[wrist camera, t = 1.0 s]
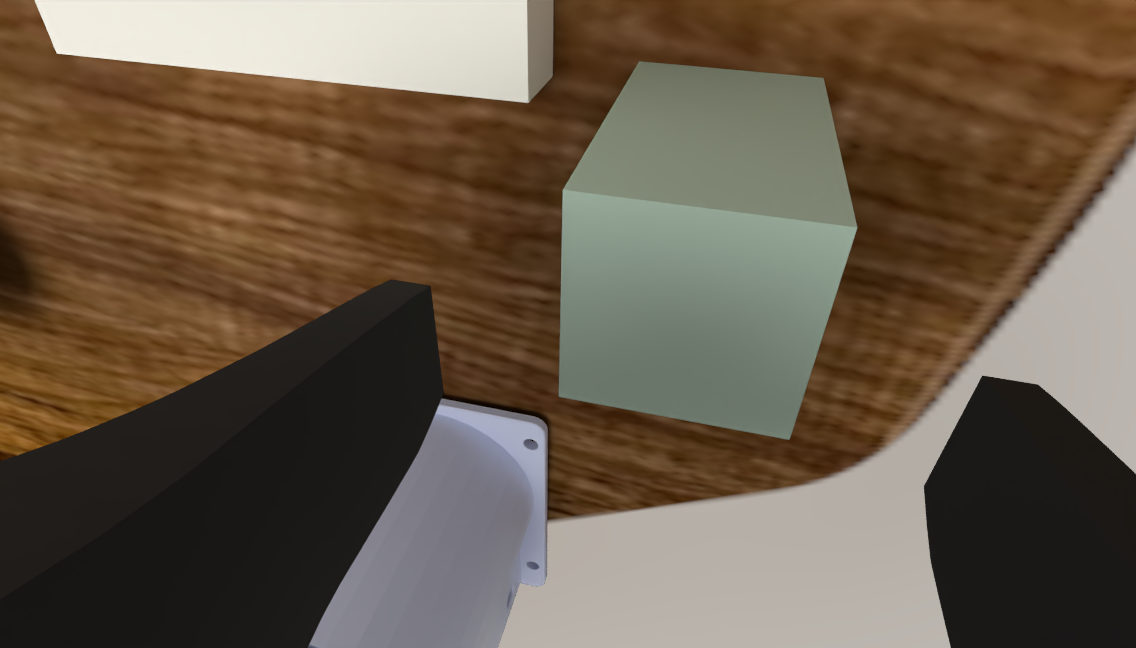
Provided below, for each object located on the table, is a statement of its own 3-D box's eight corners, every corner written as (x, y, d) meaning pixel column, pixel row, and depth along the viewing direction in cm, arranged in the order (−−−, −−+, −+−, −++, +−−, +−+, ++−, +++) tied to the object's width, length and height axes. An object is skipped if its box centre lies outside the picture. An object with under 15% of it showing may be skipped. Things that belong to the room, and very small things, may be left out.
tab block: (783, 241, 17) (789, 439, 11) (625, 220, 17) (558, 396, 12) (823, 77, 14) (857, 227, 9) (638, 61, 15) (562, 190, 9)
